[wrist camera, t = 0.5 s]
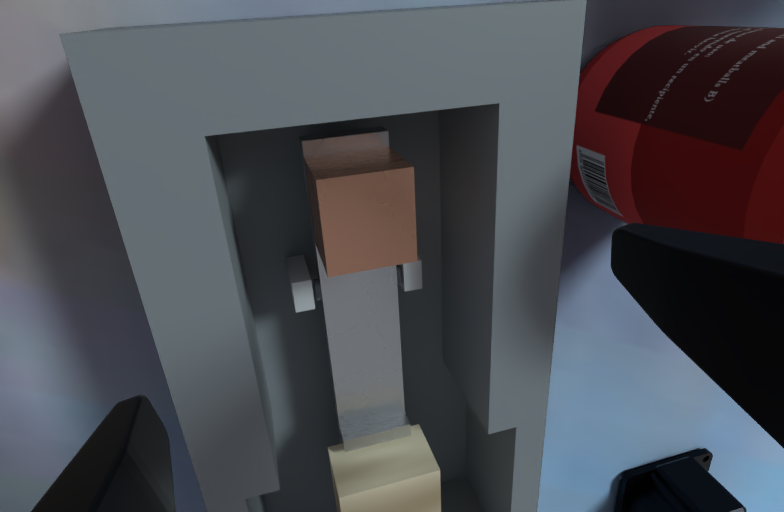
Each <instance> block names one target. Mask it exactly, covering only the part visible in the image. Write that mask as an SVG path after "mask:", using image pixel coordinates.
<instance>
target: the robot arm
mask: <svg viewBox="0 0 784 512" xmlns="http://www.w3.org/2000/svg"><path fill="white" fill-rule="evenodd" d="M611 268H612V271H613V273H614V275H615V277H616V278H617V279H618V280H619V281H620V283H621V284H622V285H623V286H624V287H625V288H626V290H627V291H628V292H629V293H630V294H631V296H632V297H633V298H634V299H635V300H636V301H637V303H638V304H639V305H640V306H641V307H642V309H643V310H644V311H645V312H646V313H647V314H648V316H649V317H650V318H651V319H652V320H653V321H654V323H655V324H656V325H657V326H658V327H659V328H660V329H661V330H662V331H663V332H664V333H665V334H666V336H667V337H668V338H669V339H670V340H671V341H673V342H674V343H675V344H676V345H677V346H678V347H679V348H680V349H681V350H682V351H683V352H684V353H685V354H686V355H687V356H688V357H689V358H690V359H691V360H692V361H693V362H694V363H695V364H696V365H698V366H699V367H700V368H701V369H702V370H703V371H704V372H705V373H706V374H707V375H708V376H709V377H710V378H711V379H712V380H713V381H714V382H715V383H716V384H717V385H718V386H719V387H720V388H721V389H723V390H724V391H725V392H726V393H727V394H728V395H729V396H730V397H731V398H732V399H733V400H734V401H735V402H736V403H737V404H738V405H739V406H740V407H741V408H742V409H743V410H744V411H745V412H747V413H748V414H749V415H750V416H751V417H752V418H753V419H754V420H755V421H756V422H757V423H758V424H759V425H760V426H761V427H762V428H763V429H764V430H765V431H766V432H767V433H768V434H769V435H770V436H772V437H773V438H774V439H775V440H776V441H777V442H778V443H779V444H780V445H781V446H782V447H783V448H784V244H780V243H773V242H766V241H759V240H752V239H745V238H738V237H731V236H724V235H717V234H710V233H703V232H696V231H689V230H682V229H675V228H669V227H662V226H655V225H648V224H641V223H631V224H628V225H625V226H622V227H619V228H617V229H616V230H614V232H613V234H612V247H611ZM712 457H713V455H712V453H711V452H710V451H708V450H707V449H706V448H704V449H700V450H697V451H693V452H690V453H687V454H683V455H680V456H677V457H674V458H670V459H667V460H664V461H660V462H657V463H654V464H650V465H647V466H644V467H640V468H637V469H634V470H631V471H628V472H626V473H625V474H624V475H623V476H622V479H621V484H620V489H619V495H618V500H617V505H616V510H615V512H746V508H745V507H744V506H743V505H742V504H741V503H740V502H739V501H738V500H737V499H736V498H735V497H734V496H733V495H732V494H731V493H730V492H729V491H728V490H726V489H725V488H724V487H723V486H722V485H721V484H720V483H719V482H718V481H717V480H716V479H715V478H714V477H713V476H712V475H711V474H710V473H709V472H708V471H709V467H710V464H711V460H712ZM31 512H176V509H175V499H174V488H173V478H172V467H171V457H170V446H169V438H168V434H167V431H166V428H165V426H164V425H163V423H162V421H161V420H160V418H159V416H158V415H157V413H156V411H155V409H154V408H153V406H152V404H151V403H150V401H149V400H148V398H146V397H145V396H143V395H138V396H135V397H132V398H129V399H127V400H124V401H121V402H119V403H117V404H116V405H115V406H114V407H113V409H112V410H111V411H110V412H109V414H108V415H107V416H106V417H105V419H104V420H103V421H102V423H101V424H100V425H99V426H98V428H97V429H96V430H95V431H94V433H93V434H92V435H91V436H90V438H89V439H88V440H87V441H86V443H85V444H84V445H83V446H82V448H81V449H80V450H79V452H78V453H77V454H76V455H75V457H74V458H73V459H72V460H71V462H70V463H69V464H68V465H67V467H66V468H65V469H64V470H63V472H62V473H61V474H60V475H59V477H58V478H57V479H56V481H55V482H54V483H53V484H52V486H51V487H50V488H49V489H48V491H47V492H46V493H45V494H44V496H43V497H42V498H41V499H40V501H39V502H38V503H37V504H36V506H35V507H34V508H33V510H32V511H31Z"/></svg>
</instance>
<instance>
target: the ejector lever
mask: <svg viewBox="0 0 784 512" xmlns="http://www.w3.org/2000/svg"><path fill="white" fill-rule="evenodd" d="M299 142H300V149H301V157H302V164H303V171H304V179H305V186H306V194H307V201H308V209H309V216H310V224H311V231H312V238H313V246H314V253H315V261H316V268H317V276H318V279H313V287H314V292H315V297H316V301H320V300H321V305H322V313H323V320H324V328H325V335H326V343H327V350H328V358H329V365H330V373H331V380H332V387H333V395H334V402H335V410H336V417H337V425H338V432H339V440H340V444H343V448H344V451H345V452H348V451H352V450H356V449H360V448H364V447H368V446H371V445H375V444H379V443H383V442H387V441H391V440H395V439H399V438H403V437H407V436H410V435H411V424H410V422H409V420H408V417H407V415H406V413H405V407H404V390H403V372H402V355H401V338H400V321H399V304H398V287H397V286H399V285H402V274H401V270H400V267H399V265H400V264H405V263H411V262H416V261H417V236H416V210H415V184H414V167H413V166H412V165H411V164H410V163H409V162H407V161H406V160H405V159H404V158H403V157H401V156H400V155H399V154H398V153H397V152H395V151H394V150H393V149H392V148H391V147H389V134H388V130H386V129H385V128H384V127H382V126H380V127H372V128H363V129H355V130H346V131H337V132H329V133H320V134H312V135H303V136H299Z"/></svg>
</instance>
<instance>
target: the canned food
mask: <svg viewBox="0 0 784 512" xmlns="http://www.w3.org/2000/svg"><path fill="white" fill-rule="evenodd" d="M570 178H571V180H572V182H573V183H574V185H575V186H576V187H577V189H578V190H579V191H580V192H581V193H582V194H583V196H584V197H585V198H586V199H587V200H588V201H589V202H591V203H592V204H594V205H595V206H597V207H598V208H600V209H602V210H603V211H605V212H607V213H609V214H611V215H613V216H615V217H616V218H618V219H620V220H622V221H624V222H626V223H628V224H631V223H641V224H648V225H655V226H662V227H669V228H675V229H682V230H689V231H696V232H703V233H710V234H717V235H724V236H731V237H738V238H745V239H752V240H759V241H766V242H773V243H780V244H784V28H769V27H724V26H680V25H667V26H654V27H650V28H646V29H643V30H639V31H637V32H634V33H632V34H629V35H627V36H625V37H623V38H621V39H619V40H617V41H615V42H613V43H611V44H610V45H608V46H607V47H606V48H605V49H603V50H602V51H601V52H599V53H598V54H597V55H596V56H595V57H594V58H593V59H592V60H591V61H590V62H589V64H588V65H587V66H586V67H585V68H584V69H583V71H582V72H581V74H580V75H579V85H578V95H577V106H576V116H575V126H574V137H573V147H572V157H571V167H570Z"/></svg>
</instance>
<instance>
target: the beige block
mask: <svg viewBox="0 0 784 512" xmlns="http://www.w3.org/2000/svg"><path fill="white" fill-rule="evenodd" d="M328 453H329V460H330V467H331V474H332V480H333V487H334V494H335V500H336V507H337V512H441V482H440V468H439V466H438V464H437V462H436V460H435V458H434V455H433V453H432V451H431V449H430V447H429V445H428V442H427V440H426V438H425V436H424V434H423V432H422V429H421V427H420V425H419V424H417V425H413V426H411V435H410V436H407V437H403V438H399V439H395V440H391V441H387V442H383V443H379V444H375V445H371V446H368V447H364V448H360V449H356V450H352V451H348V452H345V451H344V448H343V444H338V445H334V446H330V447H328Z"/></svg>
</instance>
